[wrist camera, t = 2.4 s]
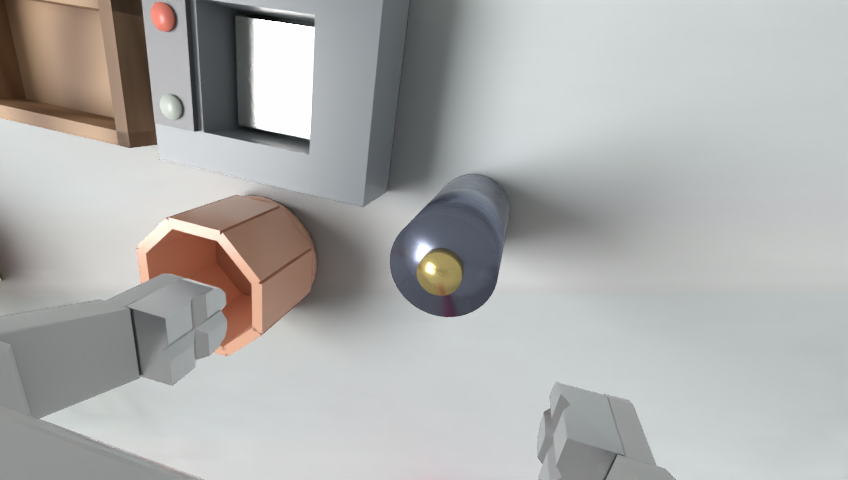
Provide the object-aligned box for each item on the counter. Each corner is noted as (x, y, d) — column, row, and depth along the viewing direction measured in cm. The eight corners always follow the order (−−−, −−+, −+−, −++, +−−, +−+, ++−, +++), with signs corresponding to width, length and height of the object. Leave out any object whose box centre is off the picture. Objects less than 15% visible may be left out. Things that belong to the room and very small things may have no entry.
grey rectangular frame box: (411, -11, 18) (382, -37, 15) (386, 191, 22) (359, 209, 19) (196, -37, 21) (126, -65, 17) (207, 151, 24) (151, 160, 21)
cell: (517, 182, 20) (508, 235, 12) (500, 251, 22) (483, 338, 14) (443, 167, 21) (391, 208, 13) (431, 235, 22) (378, 308, 15)
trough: (169, 6, 22) (109, -9, 19) (180, 141, 25) (130, 147, 22) (6, -18, 24) (-72, -35, 21) (33, 109, 27) (-32, 110, 24)
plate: (339, 32, 20) (332, 29, 19) (333, 141, 22) (326, 142, 21) (245, 18, 20) (235, 15, 20) (247, 123, 23) (238, 124, 22)
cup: (319, 210, 24) (262, 241, 19) (314, 317, 27) (263, 369, 22) (210, 184, 25) (129, 206, 20) (216, 288, 28) (147, 331, 23)
